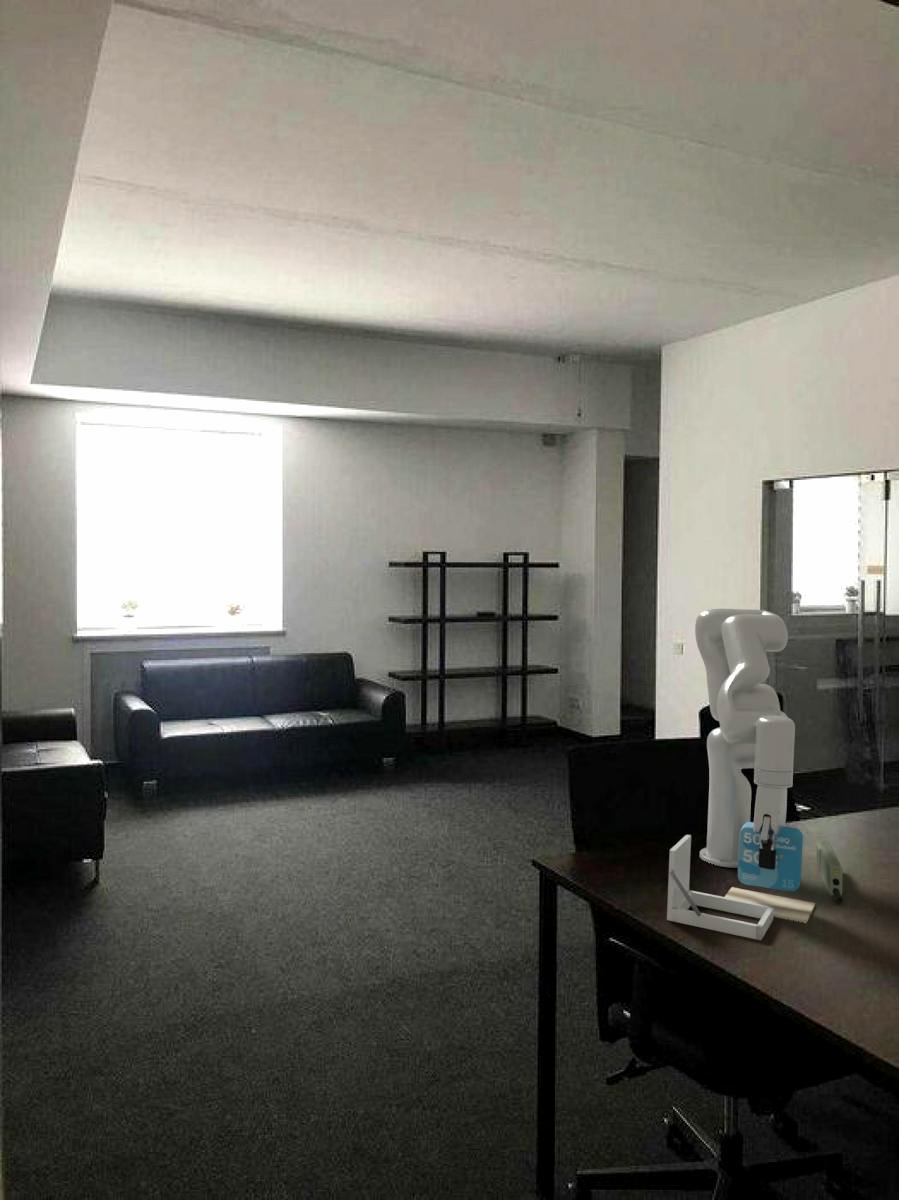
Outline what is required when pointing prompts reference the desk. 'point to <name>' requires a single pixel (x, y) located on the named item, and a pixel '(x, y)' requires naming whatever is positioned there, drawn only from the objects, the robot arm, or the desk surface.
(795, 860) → the data package
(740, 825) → the robot arm
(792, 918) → the birch board
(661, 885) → the desk surface
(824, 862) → the handheld radio
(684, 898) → the stand
